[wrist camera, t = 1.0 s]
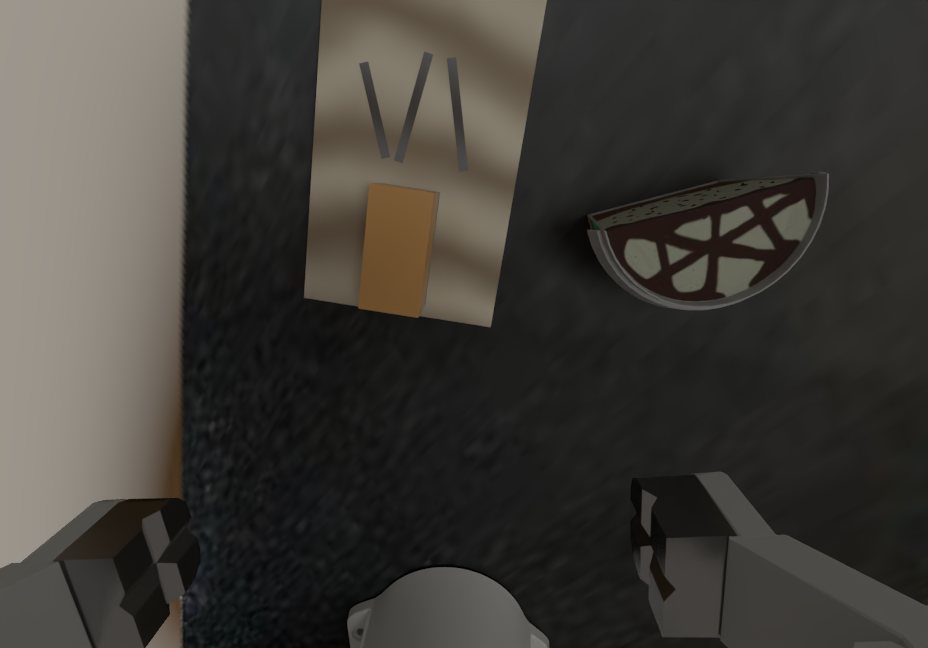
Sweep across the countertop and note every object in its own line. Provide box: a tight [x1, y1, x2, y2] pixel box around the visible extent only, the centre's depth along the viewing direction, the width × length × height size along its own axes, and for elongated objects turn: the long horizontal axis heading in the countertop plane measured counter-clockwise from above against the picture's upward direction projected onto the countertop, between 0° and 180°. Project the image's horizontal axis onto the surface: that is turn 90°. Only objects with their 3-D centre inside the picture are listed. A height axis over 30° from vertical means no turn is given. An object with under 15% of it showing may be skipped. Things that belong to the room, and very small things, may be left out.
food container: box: [586, 172, 829, 310], centre depth 31 cm, size 12×6×10 cm, turn 105°
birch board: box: [304, 0, 547, 327], centre depth 34 cm, size 22×14×2 cm, turn 171°
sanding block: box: [358, 183, 440, 318], centre depth 33 cm, size 8×4×4 cm, turn 171°
